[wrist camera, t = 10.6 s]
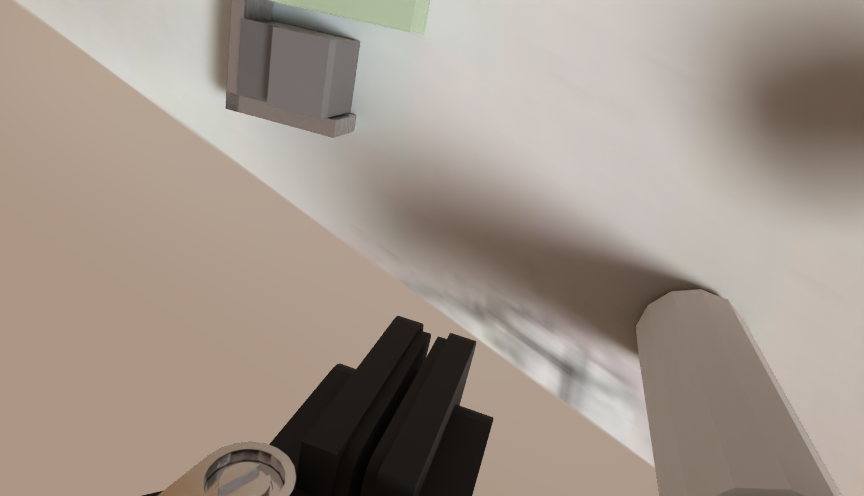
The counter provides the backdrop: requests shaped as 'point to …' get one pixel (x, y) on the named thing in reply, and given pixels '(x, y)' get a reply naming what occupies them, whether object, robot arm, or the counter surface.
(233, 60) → the side bracket
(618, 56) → the counter surface
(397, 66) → the counter surface
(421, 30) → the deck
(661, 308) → the water bottle
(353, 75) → the gray stepped block
